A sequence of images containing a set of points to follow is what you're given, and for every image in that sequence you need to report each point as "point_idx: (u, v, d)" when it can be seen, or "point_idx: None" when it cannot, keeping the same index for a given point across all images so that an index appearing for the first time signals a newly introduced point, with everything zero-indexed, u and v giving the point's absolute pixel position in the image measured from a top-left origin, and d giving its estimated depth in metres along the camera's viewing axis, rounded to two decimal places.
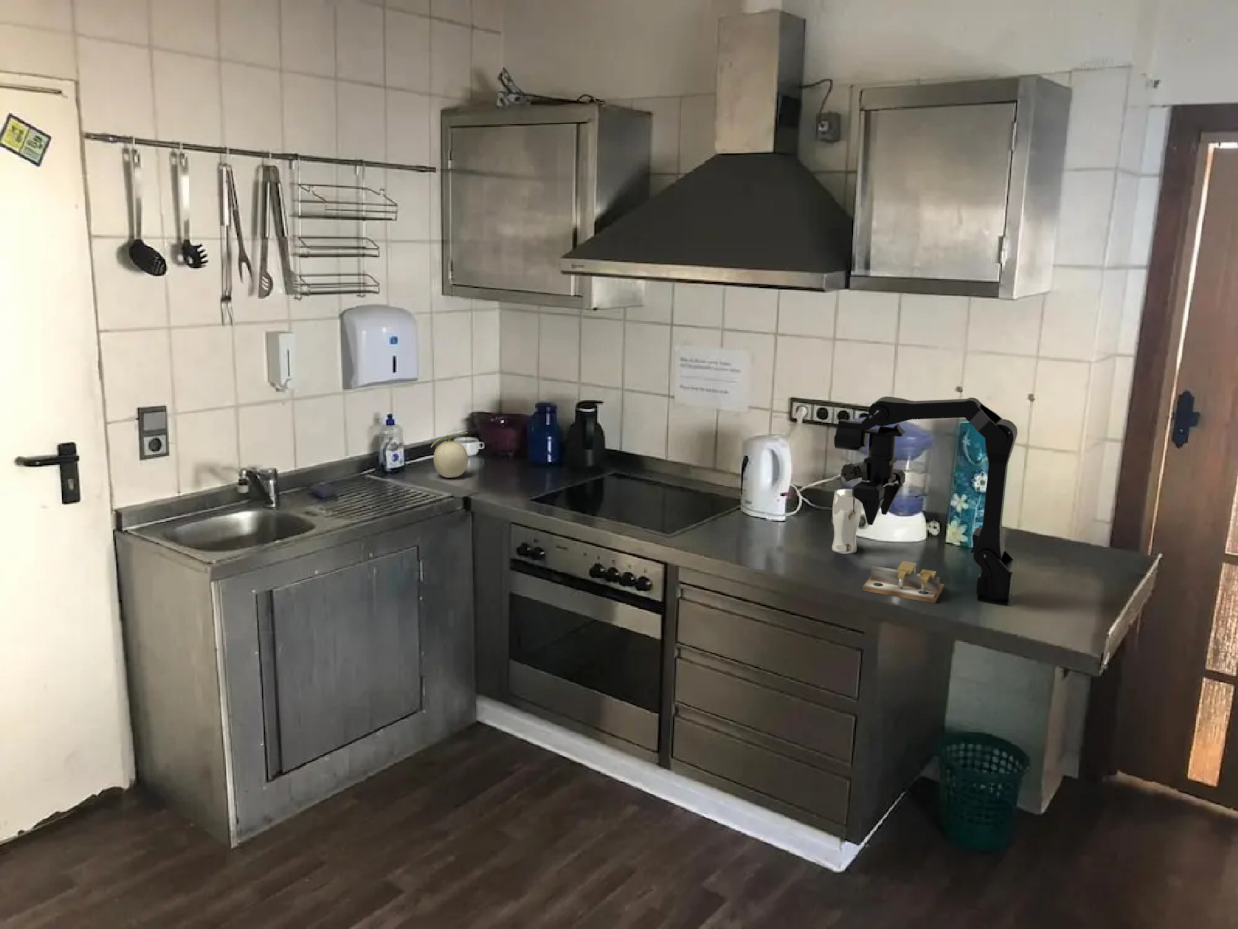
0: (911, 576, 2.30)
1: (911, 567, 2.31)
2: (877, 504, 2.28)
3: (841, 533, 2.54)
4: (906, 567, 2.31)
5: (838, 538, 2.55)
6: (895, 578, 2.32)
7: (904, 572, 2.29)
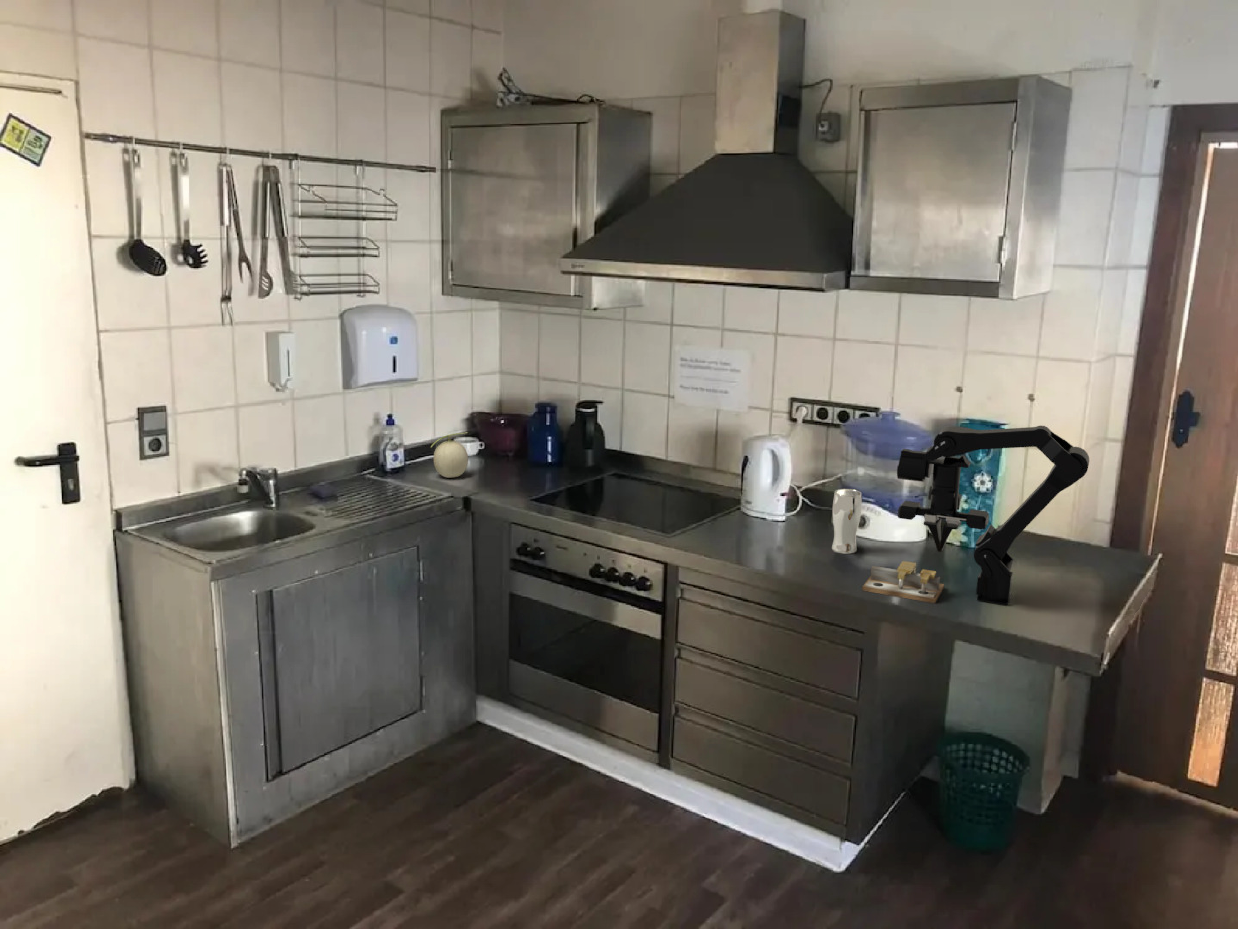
0: (911, 576, 2.30)
1: (911, 567, 2.31)
2: None
3: (841, 533, 2.54)
4: (906, 567, 2.31)
5: (838, 538, 2.55)
6: (895, 578, 2.32)
7: (904, 572, 2.29)
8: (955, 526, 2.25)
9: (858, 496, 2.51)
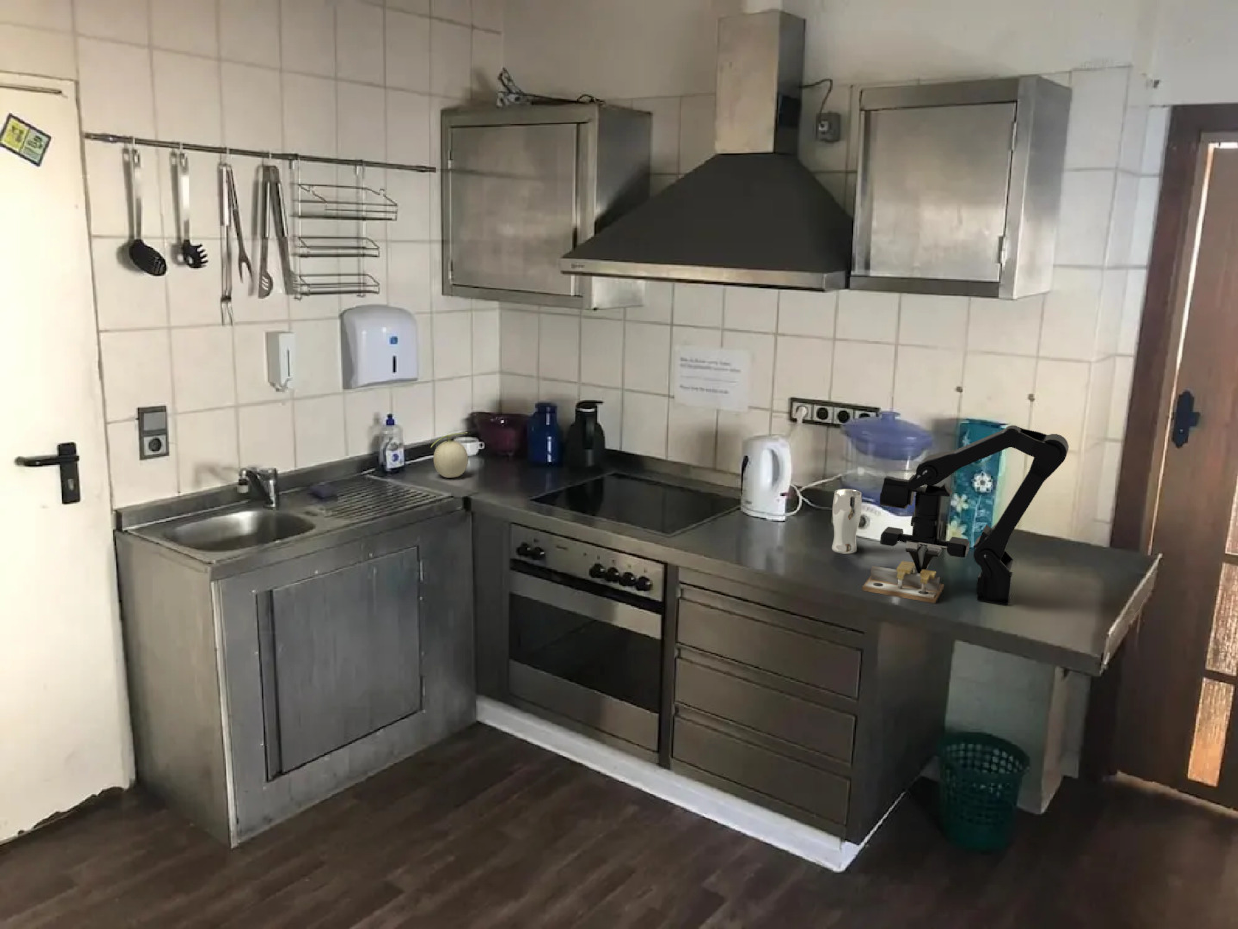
0: (911, 576, 2.30)
1: (910, 567, 2.31)
2: None
3: (841, 533, 2.54)
4: (905, 567, 2.31)
5: (838, 538, 2.55)
6: (895, 578, 2.32)
7: (903, 572, 2.29)
8: (936, 553, 2.28)
9: (858, 496, 2.51)
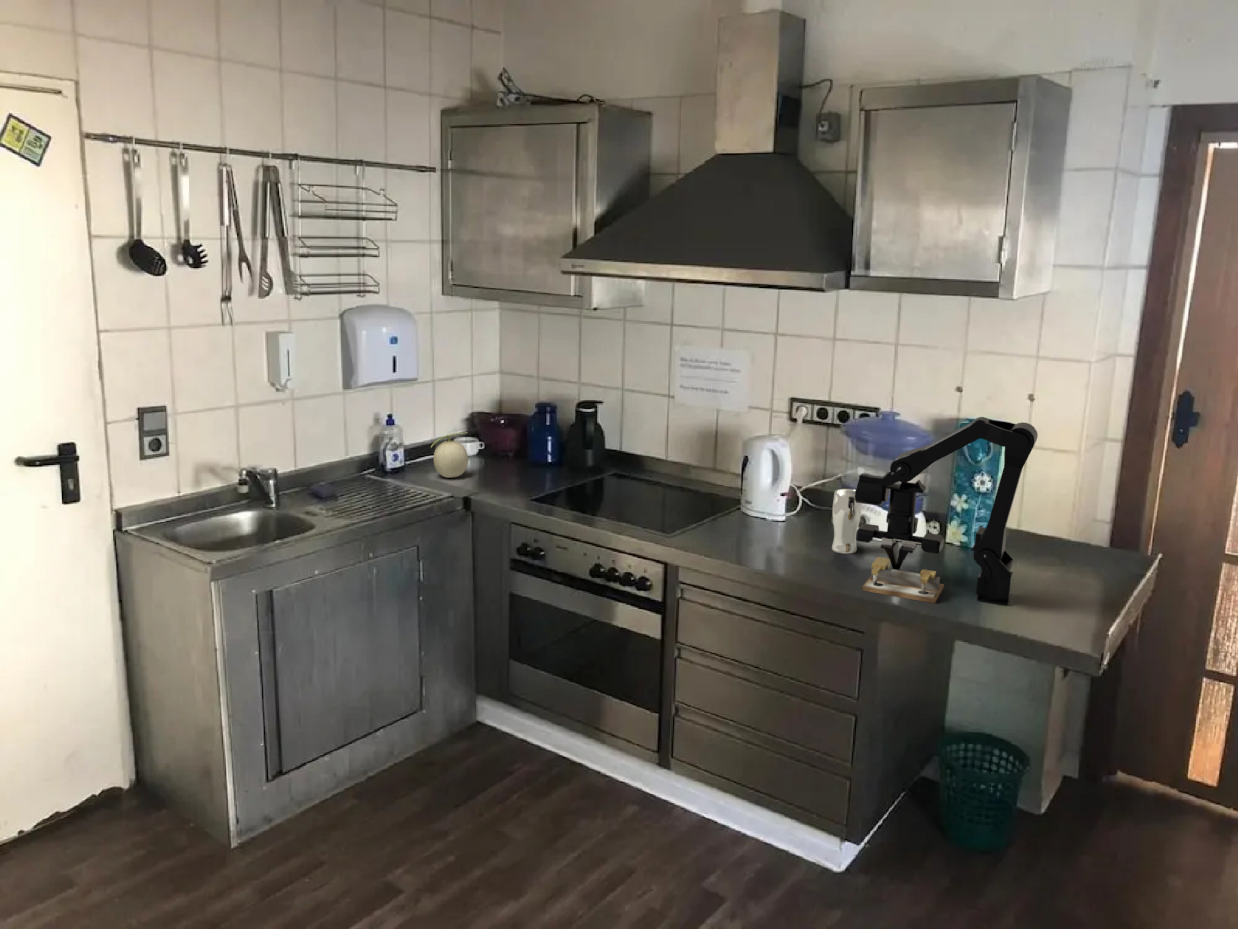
0: (911, 576, 2.30)
1: (885, 563, 2.34)
2: None
3: (841, 533, 2.54)
4: (880, 563, 2.34)
5: (838, 538, 2.55)
6: (895, 578, 2.32)
7: (878, 568, 2.31)
8: (910, 549, 2.31)
9: None
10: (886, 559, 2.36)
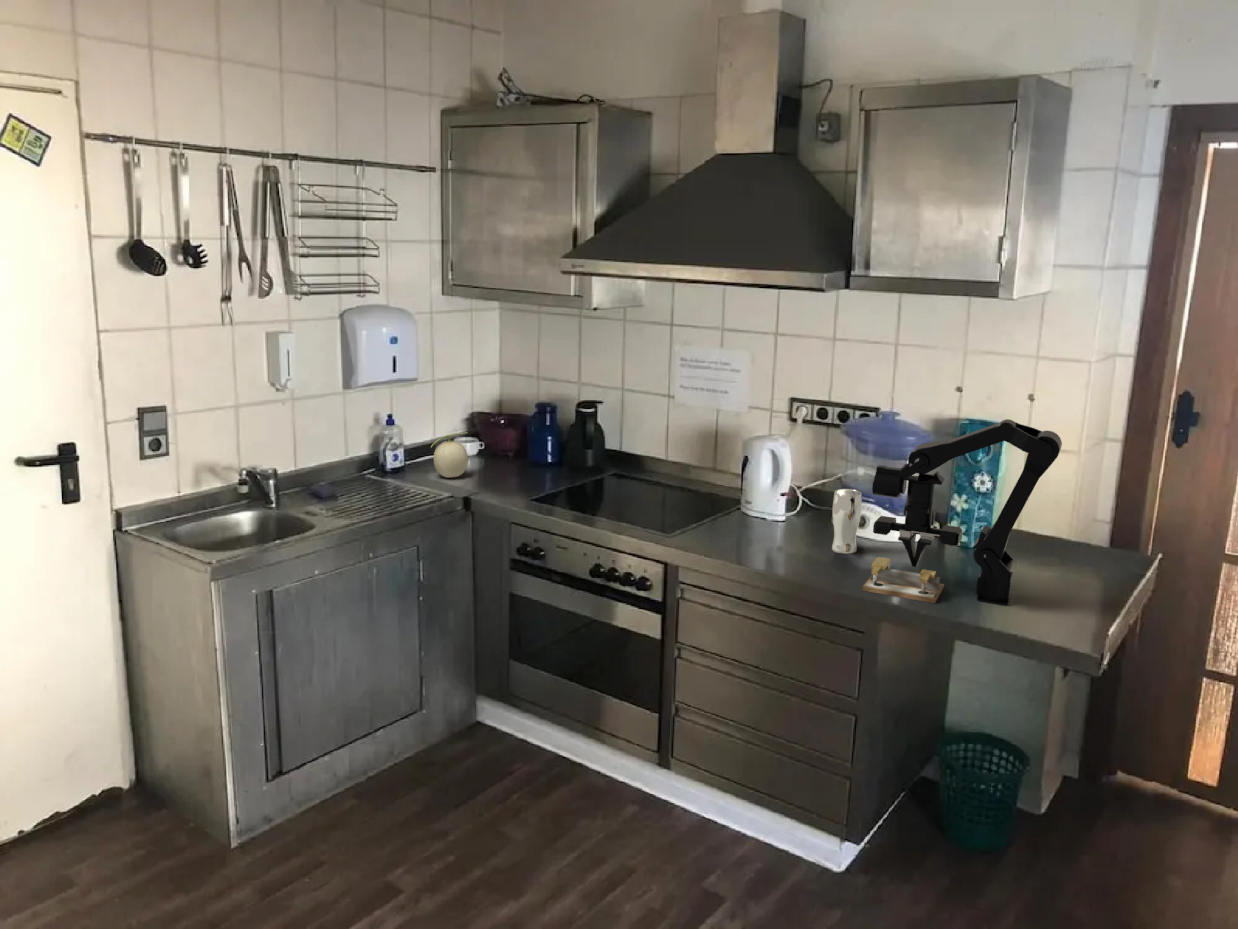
0: (911, 576, 2.30)
1: (885, 563, 2.34)
2: None
3: (841, 533, 2.54)
4: (880, 563, 2.34)
5: (838, 538, 2.55)
6: (895, 578, 2.32)
7: (878, 568, 2.31)
8: (929, 542, 2.28)
9: (858, 496, 2.51)
10: (886, 559, 2.36)
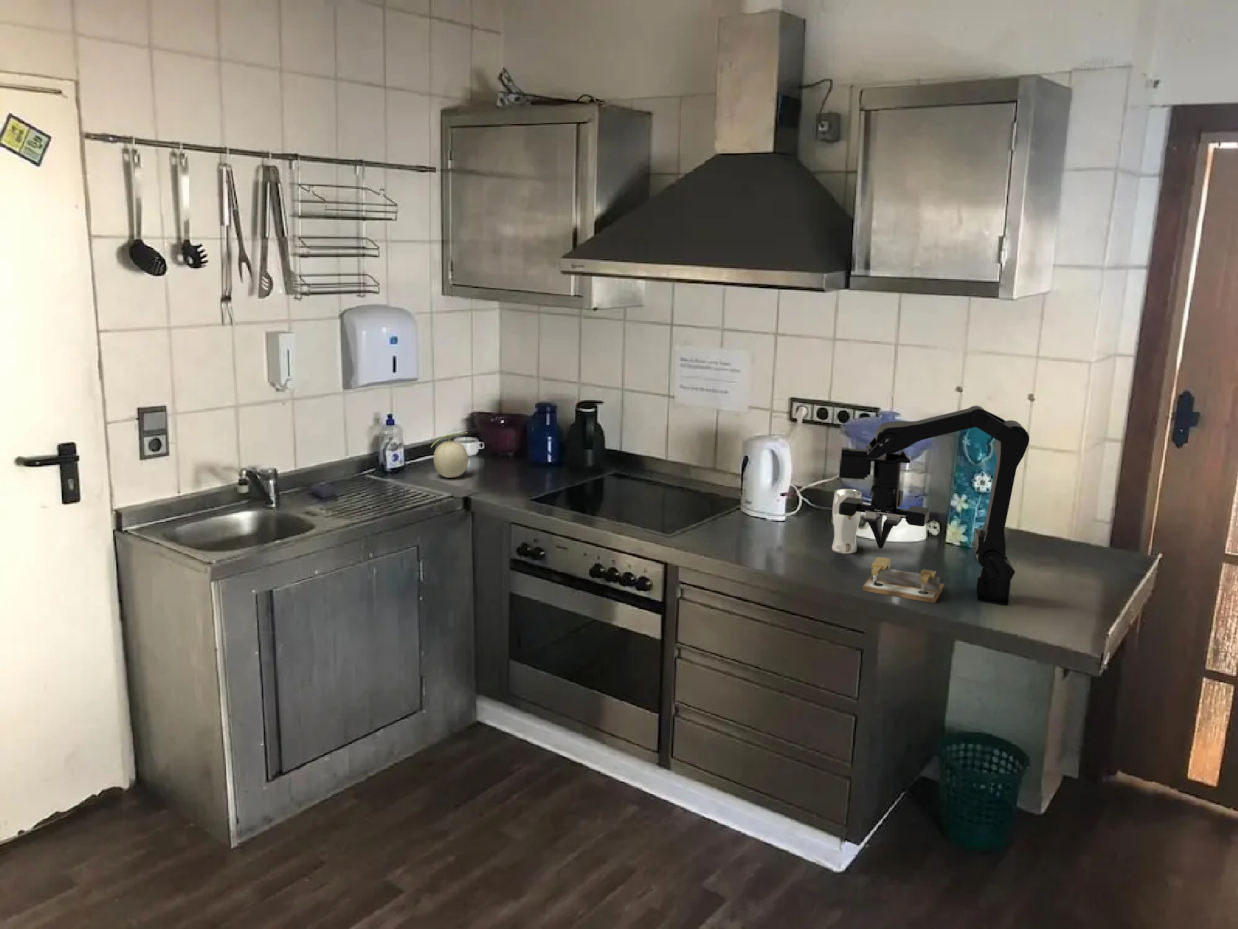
0: (911, 576, 2.30)
1: (885, 563, 2.34)
2: None
3: (841, 533, 2.54)
4: (880, 563, 2.34)
5: (838, 538, 2.55)
6: (895, 578, 2.32)
7: (878, 568, 2.31)
8: (895, 523, 2.24)
9: (858, 496, 2.51)
10: (886, 559, 2.36)
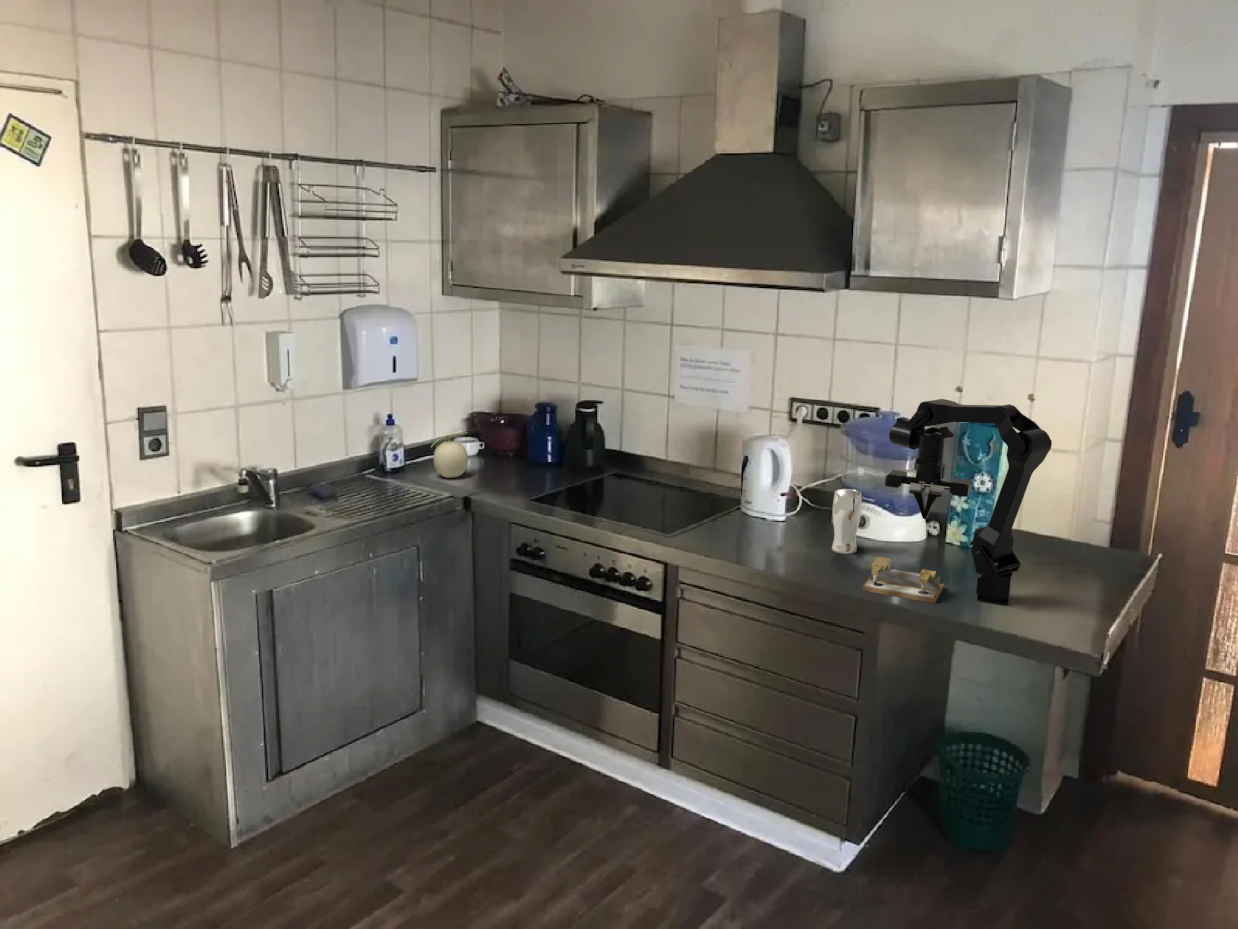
0: (911, 576, 2.30)
1: (885, 563, 2.34)
2: None
3: (841, 533, 2.54)
4: (880, 563, 2.34)
5: (838, 538, 2.55)
6: (895, 578, 2.32)
7: (878, 568, 2.31)
8: (939, 494, 2.35)
9: (858, 496, 2.51)
10: (886, 559, 2.36)
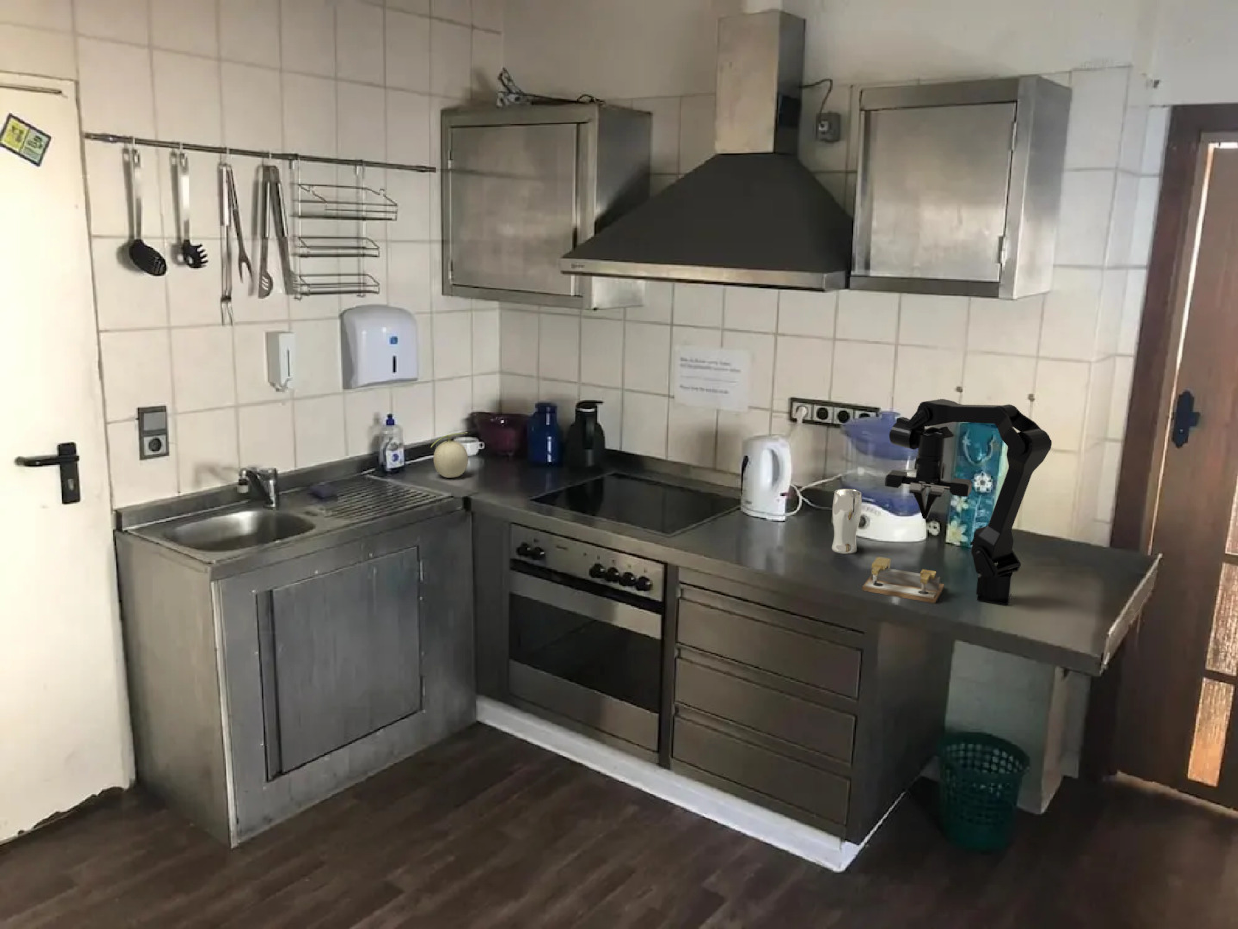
0: (911, 576, 2.30)
1: (885, 563, 2.34)
2: None
3: (841, 533, 2.54)
4: (880, 563, 2.34)
5: (838, 538, 2.55)
6: (895, 578, 2.32)
7: (878, 568, 2.31)
8: (939, 494, 2.35)
9: (858, 496, 2.51)
10: (886, 559, 2.36)
